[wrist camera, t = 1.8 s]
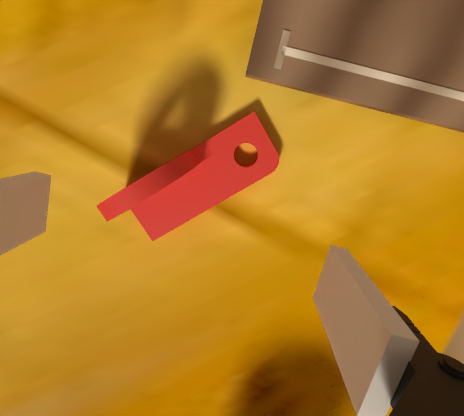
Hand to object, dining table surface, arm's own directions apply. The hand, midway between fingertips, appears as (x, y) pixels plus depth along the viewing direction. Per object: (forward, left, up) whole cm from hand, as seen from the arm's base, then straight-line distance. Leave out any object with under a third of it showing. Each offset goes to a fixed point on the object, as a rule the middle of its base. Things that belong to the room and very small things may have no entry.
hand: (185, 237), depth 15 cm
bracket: (-1, +1, -12) cm, 12 cm away
